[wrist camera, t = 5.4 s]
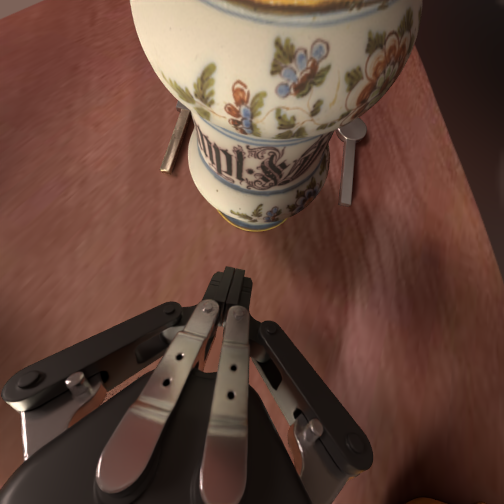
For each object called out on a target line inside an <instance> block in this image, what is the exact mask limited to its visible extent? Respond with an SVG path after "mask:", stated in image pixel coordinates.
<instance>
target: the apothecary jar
mask: <svg viewBox="0 0 504 504" xmlns="http://www.w3.org/2000/svg"><path fill="white" fill-rule="evenodd" d="M130 4H131V10H132V15H133V19H134V23H135V27H136V31H137V34H138V37H139V40H140V42H141V45H142V47H143V50H144V52H145V54H146V56H147V58H148V60H149V62H150V64H151V65H152V67H153V69H154V71H155V72H156V74H157V75H158V77H159V78H160V80H161V81H162V83H163V84H164V85H165V86H166V88H167V89H168V90H169V91H170V92H171V93H172V94H173V95H174V96H175V97H176V98H177V99H178V100H179V101H180V102H181V103H182V104H183V105H185V106H186V107H187V108H188V109H190V110H191V115H192V118H193V122H194V126H195V128H194V130H193V133H192V135H191V138H190V142H189V147H188V161H189V168H190V172H191V175H192V178H193V180H194V183H195V185H196V186H197V188H198V190H199V191H200V193H201V194H202V195H203V196H204V198H205V199H206V200H207V201H208V202H209V203H210V204H211V205H213V206H214V207H215V208H217V210H218V212H219V213H220V214H221V215H222V217H223V218H224V219H225V220H226V221H228V222H229V223H230V224H232V225H233V226H235V227H237V228H240V229H243V230H246V231H266V230H269V229H272V228H275V227H277V226H279V225H280V224H282V223H283V222H284V221H286V220H287V219H288V218H289V217H291V216H293V215H295V214H297V213H298V212H300V211H301V210H303V209H304V208H305V207H307V206H308V205H309V204H310V203H311V202H312V201H313V200H314V199H315V197H316V196H317V195H318V193H319V192H320V190H321V189H322V187H323V185H324V183H325V180H326V178H327V175H328V170H329V163H330V152H329V145H328V142H329V140H330V139H331V137H332V134H333V132H334V130H336V129H338V128H341V127H343V126H345V125H347V124H348V123H350V122H352V121H354V120H355V119H357V118H358V117H360V116H361V115H363V114H364V113H365V112H366V111H368V110H369V109H370V108H371V107H372V106H373V105H374V104H375V103H377V102H378V101H379V100H380V98H381V97H382V96H383V95H384V94H385V93H386V92H387V91H388V90H389V88H390V87H391V86H392V84H393V83H394V82H395V80H396V79H397V77H398V76H399V75H400V73H401V71H402V70H403V68H404V66H405V64H406V62H407V60H408V58H409V56H410V54H411V51H412V49H413V46H414V43H415V40H416V37H417V34H418V30H419V25H420V20H421V12H422V0H130Z"/></svg>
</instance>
